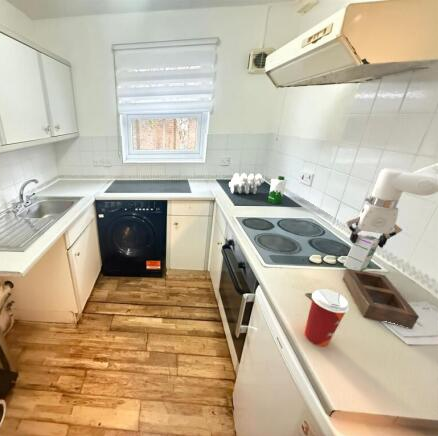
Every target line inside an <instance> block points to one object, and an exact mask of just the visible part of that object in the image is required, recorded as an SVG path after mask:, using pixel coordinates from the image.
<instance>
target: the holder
mask: <svg viewBox="0 0 438 436" xmlns="http://www.w3.org/2000/svg"><path fill="white" fill-rule="evenodd" d="M342 281H343V283H344V284H345V286H346V288H347V290H348V292H349V294H350V295H351V297H352V299H353V301H354V302H355V304H356V306H357V308H358V310H359V311H360V313H361V315H362V318H365V319H369V320H374V321H376V322H377V321H378V322H382V321H387V322H391V323H395V324H398V325H402V326H404V327H403V328H406V327H408V329H411V330H412V329H413V328H414V326H415V325H416V323H417V321H418V319H419V318H420V316H419V314H418V313H417V312H416V311H415V309H414V308H413V307H412V306H411V305H410V304H409V302H408V301H407V300H406V298H405V297H404V296H403V295H402V294H401V293H400V291H398V289H397V288H396V287H395V286H394V285H393V283H392V282H391V281H390V280H389V278H388V277H387V276H386V275H385V274H380V273H376V272H375V273H374V272H368V271H365V270H364V271H358V270H352V269H349V268H347V267H346V268H345V272H344V273H343V276H342ZM382 323H383V322H382ZM398 325H397V326H398ZM402 326H401V327H402Z"/></svg>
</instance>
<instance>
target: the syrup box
mask: <svg viewBox="0 0 438 436" xmlns="http://www.w3.org/2000/svg"><path fill="white" fill-rule="evenodd" d="M379 242H380V239H379V237H376V236H373V235H370V234H368V233H367V234H366V233H362V234H358V237H357V240H356V243H352V245H351V247H350V249H349V252H348V254H347V256H346V258H345V260H344V263H343V267H346V268H347V269H352V270H358V271H364V272H365V271H367V268H368V266H369V265H370V263H371V260H372V258H373V256H374V254H375V252H376V250H377V248H378V247H379V246H378V244H379Z"/></svg>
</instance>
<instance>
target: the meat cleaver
mask: <svg viewBox="0 0 438 436" xmlns="http://www.w3.org/2000/svg"><path fill="white" fill-rule="evenodd" d="M313 293H314V292H305V293H304V294H305V296H306V297H308V298H309V299H310V300H312V294H313Z"/></svg>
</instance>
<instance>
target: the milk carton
mask: <svg viewBox="0 0 438 436" xmlns="http://www.w3.org/2000/svg"><path fill="white" fill-rule="evenodd" d="M287 182H288V180H286V179H285V176H284V175H283V176H282V175H278V177H277V178H271V179H270V189H269V194H268V197H267V201H266V202H267V203H269V204H272V205H274V206H275V205H279V204H280V205H281V204H282V203H283V202H282V201H283V197H284V192H285V189H286V188H285V187H286V184H287Z"/></svg>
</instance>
